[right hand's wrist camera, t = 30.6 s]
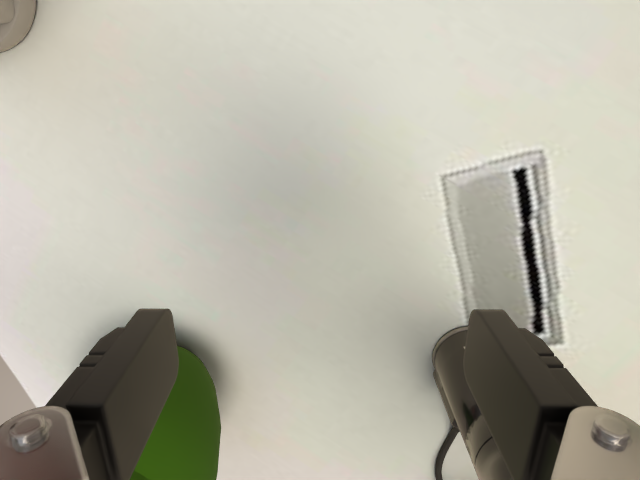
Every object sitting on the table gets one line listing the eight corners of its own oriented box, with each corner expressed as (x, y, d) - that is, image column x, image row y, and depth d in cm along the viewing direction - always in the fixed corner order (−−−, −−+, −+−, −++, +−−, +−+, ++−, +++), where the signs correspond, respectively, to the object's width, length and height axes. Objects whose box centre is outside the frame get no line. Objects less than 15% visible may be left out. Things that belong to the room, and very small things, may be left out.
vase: (156, 439, 64) (67, 639, 42) (72, 343, 58) (-88, 518, 35) (268, 391, 61) (237, 580, 38) (191, 284, 55) (100, 434, 32)
